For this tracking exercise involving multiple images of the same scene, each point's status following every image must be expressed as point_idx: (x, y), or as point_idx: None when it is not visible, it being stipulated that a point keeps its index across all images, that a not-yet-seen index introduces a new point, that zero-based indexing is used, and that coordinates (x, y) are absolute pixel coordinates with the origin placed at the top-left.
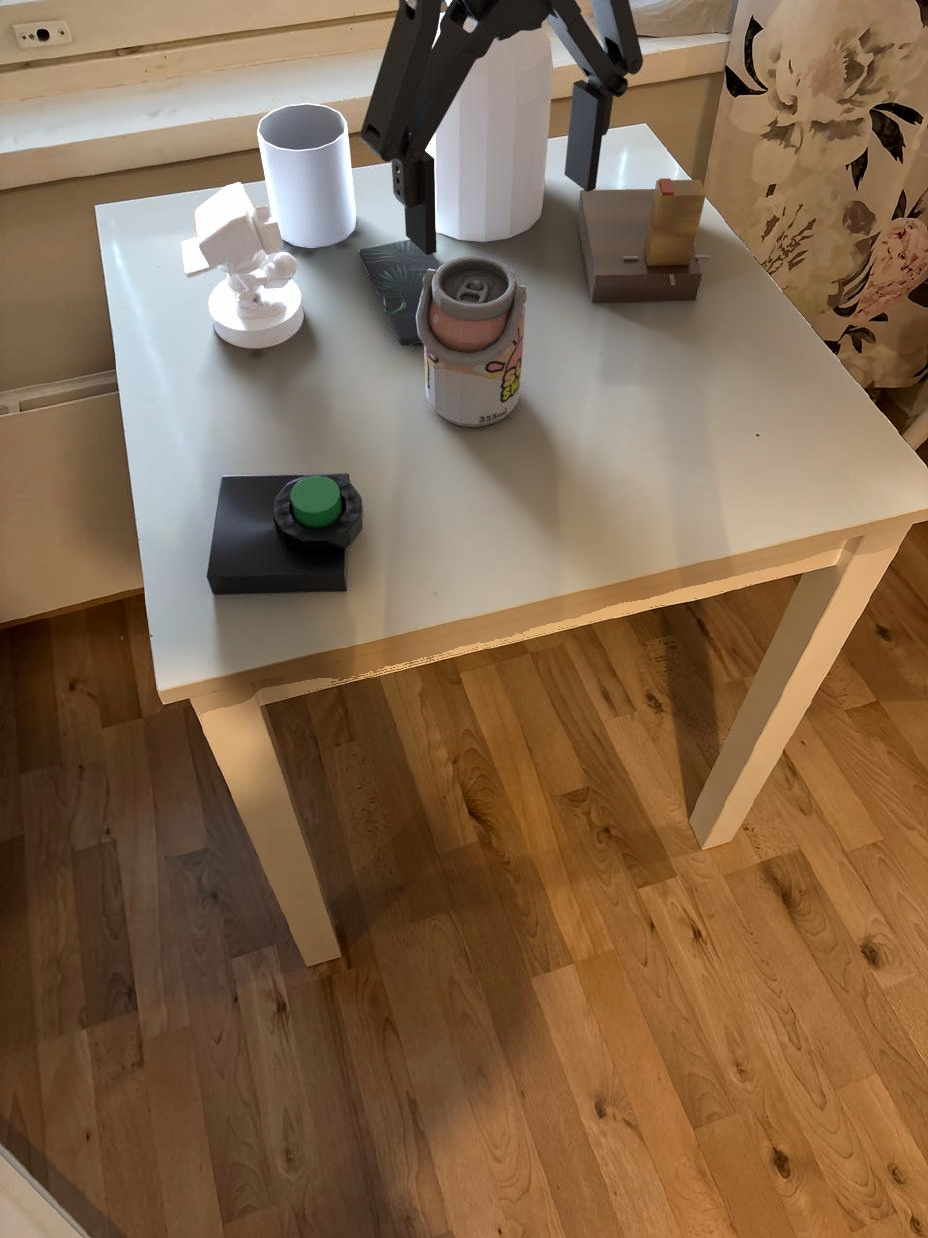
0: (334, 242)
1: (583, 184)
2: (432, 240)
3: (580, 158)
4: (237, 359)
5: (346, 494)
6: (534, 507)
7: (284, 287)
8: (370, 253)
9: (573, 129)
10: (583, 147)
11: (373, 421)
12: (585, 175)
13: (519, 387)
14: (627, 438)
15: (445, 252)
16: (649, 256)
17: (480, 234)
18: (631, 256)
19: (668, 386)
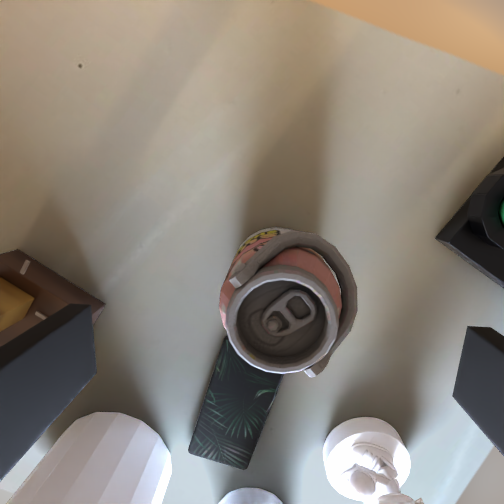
0: (253, 488)
1: (87, 320)
2: (497, 340)
3: (57, 365)
4: (407, 420)
5: (496, 205)
6: (318, 123)
7: (337, 465)
8: (241, 460)
9: (21, 438)
10: (35, 378)
11: (363, 296)
12: (73, 328)
13: (246, 240)
14: (189, 141)
15: (179, 428)
16: (26, 301)
17: (141, 428)
18: (41, 317)
19: (113, 173)
